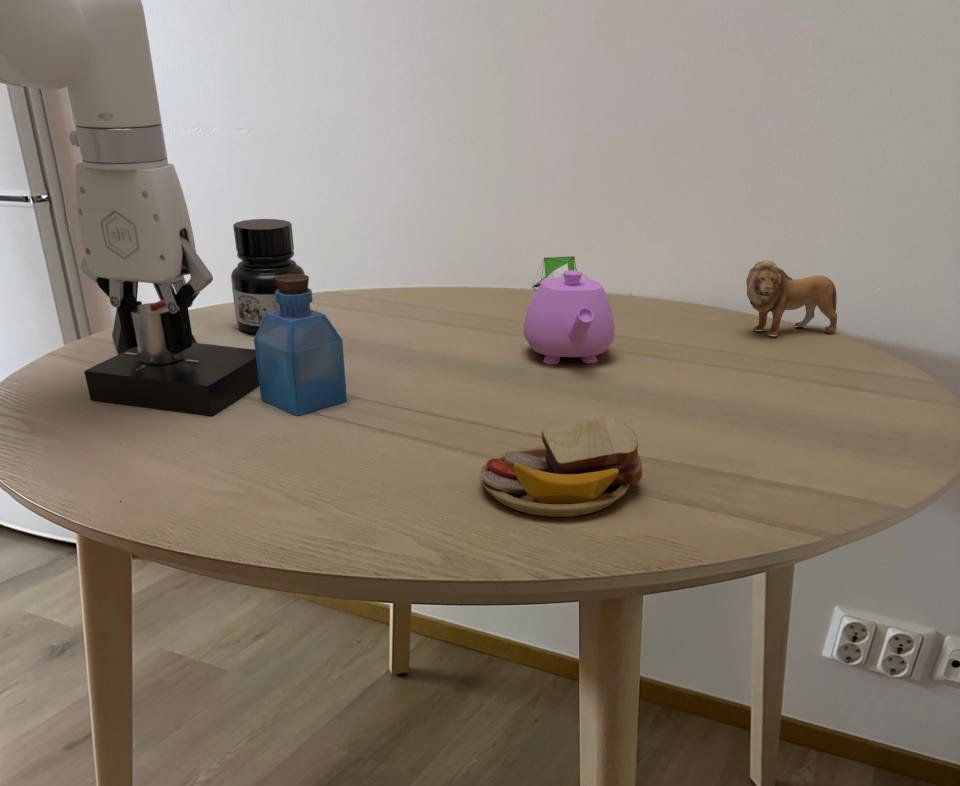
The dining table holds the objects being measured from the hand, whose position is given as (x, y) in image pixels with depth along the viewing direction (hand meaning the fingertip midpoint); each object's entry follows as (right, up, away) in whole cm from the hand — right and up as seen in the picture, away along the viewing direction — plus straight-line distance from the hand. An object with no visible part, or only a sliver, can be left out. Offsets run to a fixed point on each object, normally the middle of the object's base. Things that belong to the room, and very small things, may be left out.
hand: (159, 345), depth 95 cm
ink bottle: (+7, +9, +22) cm, 24 cm away
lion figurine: (+72, +8, +22) cm, 76 cm away
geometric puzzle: (+44, +15, +31) cm, 55 cm away
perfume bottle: (+15, -6, 0) cm, 16 cm away
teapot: (+43, +2, +13) cm, 45 cm away
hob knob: (0, -1, +1) cm, 1 cm away
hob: (+2, -4, +2) cm, 5 cm away
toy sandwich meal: (+40, -18, -17) cm, 47 cm away
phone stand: (-6, +5, +15) cm, 17 cm away
